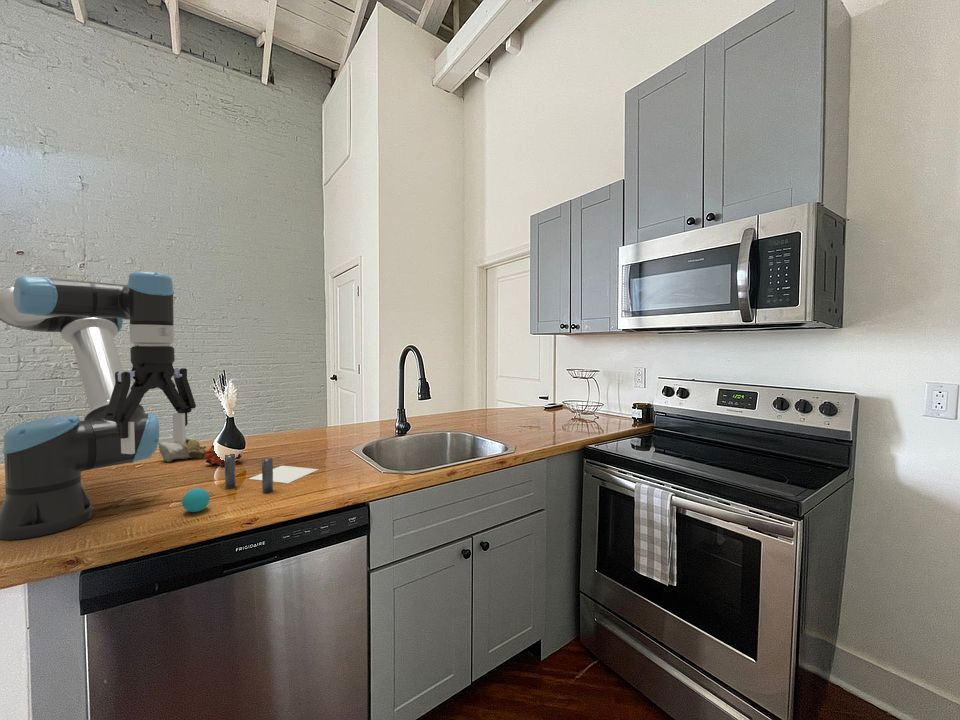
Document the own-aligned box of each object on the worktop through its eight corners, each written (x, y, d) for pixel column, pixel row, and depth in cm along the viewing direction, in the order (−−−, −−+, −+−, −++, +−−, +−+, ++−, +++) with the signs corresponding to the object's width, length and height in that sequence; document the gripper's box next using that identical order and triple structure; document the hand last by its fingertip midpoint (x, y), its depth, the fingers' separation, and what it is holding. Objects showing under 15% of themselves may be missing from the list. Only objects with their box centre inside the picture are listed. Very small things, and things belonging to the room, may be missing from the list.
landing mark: (287, 483, 122) (287, 483, 122) (248, 479, 126) (248, 478, 126) (318, 469, 136) (318, 469, 136) (281, 466, 139) (281, 465, 139)
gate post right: (268, 493, 114) (267, 460, 114) (260, 492, 115) (259, 459, 114) (275, 490, 117) (274, 458, 116) (267, 489, 117) (266, 457, 117)
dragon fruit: (246, 467, 143) (204, 477, 138) (244, 448, 149) (205, 457, 144) (241, 451, 138) (197, 460, 133) (240, 432, 144) (198, 440, 139)
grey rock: (156, 434, 146) (206, 430, 157) (154, 459, 146) (205, 454, 157) (161, 439, 138) (214, 435, 149) (160, 466, 138) (212, 460, 149)
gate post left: (230, 489, 117) (229, 457, 117) (222, 488, 118) (222, 456, 118) (238, 486, 120) (237, 454, 120) (230, 485, 121) (230, 454, 120)
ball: (194, 517, 99) (194, 493, 98) (176, 514, 100) (176, 491, 100) (215, 508, 104) (214, 486, 104) (197, 506, 105) (197, 484, 105)
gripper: (106, 345, 79) (109, 462, 80) (213, 345, 101) (214, 436, 102) (77, 345, 81) (81, 459, 82) (188, 345, 103) (190, 435, 104)
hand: (155, 447), depth 92 cm, fingers open, 10 cm apart
